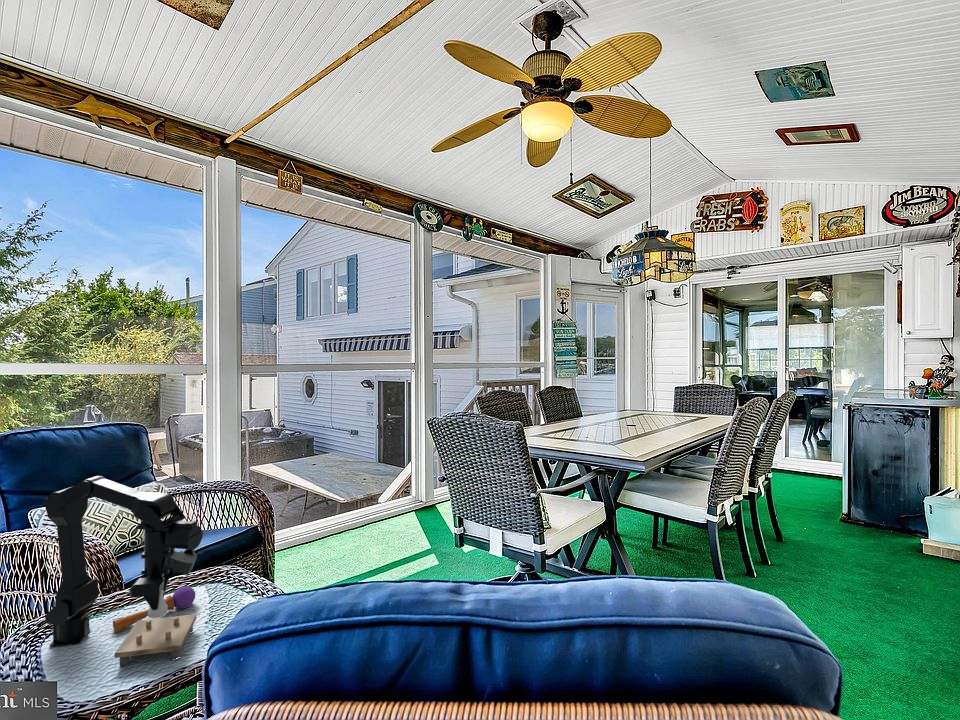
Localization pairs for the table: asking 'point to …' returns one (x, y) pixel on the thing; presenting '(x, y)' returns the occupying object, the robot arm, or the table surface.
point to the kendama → (179, 600)
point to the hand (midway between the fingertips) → (157, 605)
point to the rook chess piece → (161, 608)
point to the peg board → (156, 637)
